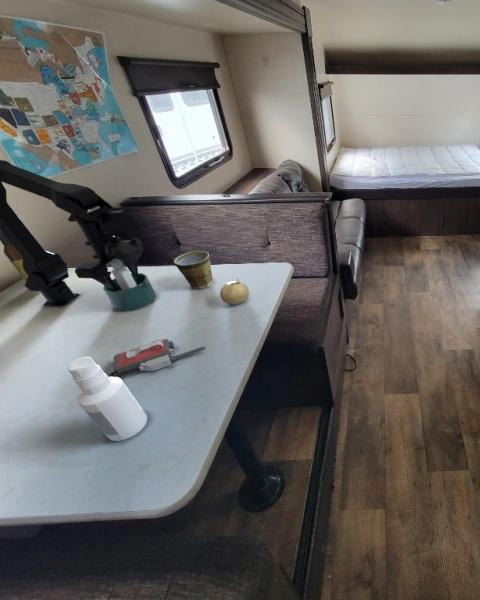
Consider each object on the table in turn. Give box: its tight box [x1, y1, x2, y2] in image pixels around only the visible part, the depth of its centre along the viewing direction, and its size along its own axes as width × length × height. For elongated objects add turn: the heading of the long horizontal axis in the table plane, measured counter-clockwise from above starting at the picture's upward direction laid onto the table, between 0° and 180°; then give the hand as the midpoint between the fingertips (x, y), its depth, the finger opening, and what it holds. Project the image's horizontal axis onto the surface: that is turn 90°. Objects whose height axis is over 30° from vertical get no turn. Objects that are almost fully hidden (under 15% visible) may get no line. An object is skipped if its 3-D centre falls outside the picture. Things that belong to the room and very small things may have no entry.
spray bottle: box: [66, 356, 148, 442], centre depth 63 cm, size 7×7×18 cm
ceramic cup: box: [171, 250, 214, 290], centre depth 111 cm, size 13×10×10 cm
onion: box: [219, 277, 250, 306], centre depth 103 cm, size 8×8×7 cm
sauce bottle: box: [0, 231, 28, 282], centre depth 109 cm, size 7×6×20 cm
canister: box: [102, 272, 157, 312], centre depth 104 cm, size 11×11×7 cm
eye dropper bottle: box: [109, 259, 137, 290], centre depth 100 cm, size 4×6×12 cm
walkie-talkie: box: [108, 338, 206, 378], centre depth 83 cm, size 9×4×20 cm
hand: (126, 283), depth 102 cm, fingers closed on eye dropper bottle, 8 cm apart
